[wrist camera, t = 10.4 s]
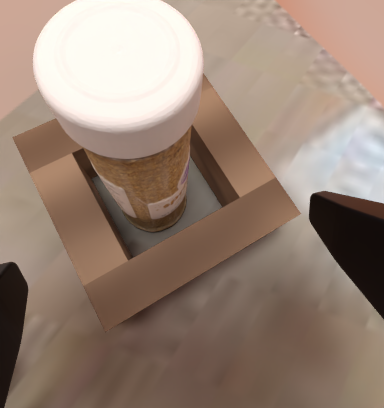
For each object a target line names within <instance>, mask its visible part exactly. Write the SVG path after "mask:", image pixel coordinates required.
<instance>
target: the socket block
mask: <svg viewBox="0 0 384 408" xmlns="http://www.w3.org/2000/svg"><path fill="white" fill-rule="evenodd" d="M13 140H14V142H15V144H16V146H17V148H18V150H19V152H20V154H21V156H22V159H23V161H24V163H25V165H26V167H27V169H28V171H29V173H30V175H31V177H32V179H33V182H34V184H35V186H36V188H37V190H38V192H39V194H40V196H41V198H42V200H43V203H44V205H45V207H46V209H47V211H48V213H49V215H50V217H51V219H52V221H53V224H54V226H55V228H56V230H57V232H58V234H59V236H60V238H61V240H62V242H63V245H64V247H65V249H66V251H67V253H68V255H69V257H70V259H71V261H72V263H73V265H74V268H75V270H76V272H77V274H78V276H79V278H80V280H81V282H82V284H83V286H84V289H85V291H86V293H87V295H88V297H89V299H90V301H91V303H92V305H93V307H94V310H95V312H96V314H97V316H98V318H99V320H100V322H101V324H102V326H103V328H104V331H105V332H106V331H108V330H110V329H111V328H113V327H115V326H116V325H118V324H120V323H121V322H123V321H125V320H126V319H128V318H130V317H131V316H133V315H135V314H136V313H138V312H140V311H141V310H143V309H145V308H146V307H148V306H150V305H151V304H153V303H154V302H156V301H158V300H159V299H161V298H163V297H164V296H166V295H168V294H169V293H171V292H173V291H174V290H176V289H178V288H179V287H181V286H183V285H184V284H186V283H187V282H189V281H191V280H192V279H194V278H196V277H197V276H199V275H201V274H202V273H204V272H206V271H207V270H209V269H211V268H212V267H214V266H216V265H217V264H219V263H221V262H222V261H224V260H225V259H227V258H229V257H230V256H232V255H234V254H235V253H237V252H239V251H240V250H242V249H244V248H245V247H247V246H249V245H250V244H252V243H254V242H255V241H257V240H258V239H260V238H262V237H263V236H265V235H267V234H268V233H270V232H272V231H273V230H275V229H277V228H278V227H280V226H282V225H283V224H285V223H287V222H288V221H290V220H291V219H293V218H295V217H296V216H298V215H300V214H301V213H300V212H299V210H298V209H297V207H296V206H295V204H294V203H293V201H292V200H291V199H290V197H289V196H288V194H287V193H286V191H285V190H284V189H283V187H282V186H281V184H280V183H279V181H278V180H277V178H276V177H275V176H274V174H273V173H272V171H271V170H270V168H269V167H268V165H267V164H266V163H265V161H264V160H263V158H262V157H261V155H260V154H259V153H258V151H257V150H256V148H255V147H254V145H253V144H252V142H251V141H250V140H249V138H248V137H247V135H246V134H245V132H244V131H243V130H242V128H241V127H240V125H239V124H238V122H237V121H236V119H235V118H234V117H233V115H232V114H231V112H230V111H229V109H228V108H227V107H226V105H225V104H224V102H223V101H222V99H221V98H220V96H219V95H218V94H217V92H216V91H215V89H214V88H213V86H212V85H211V83H210V82H209V81H208V79H207V78H206V76H205V75H204V73H203V80H202V90H201V97H200V104H199V108H198V112H197V115H196V117H195V119H194V121H193V123H192V125H191V137H190V156H191V157H192V159H193V161H194V162H195V164H196V165H197V167H198V169H199V170H200V172H201V173H202V175H203V176H204V178H205V180H206V181H207V183H208V184H209V186H210V188H211V189H212V191H213V192H214V194H215V195H216V197H217V199H218V200H219V202H220V203H221V205H222V208H221V209H219V210H217V211H215V212H214V213H212V214H210V215H208V216H206V217H205V218H203V219H201V220H199V221H198V222H196V223H194V224H192V225H191V226H189V227H187V228H185V229H183V230H182V231H180V232H178V233H176V234H175V235H173V236H171V237H169V238H167V239H166V240H164V241H162V242H160V243H159V244H157V245H155V246H153V247H152V248H150V249H148V250H146V251H144V252H143V253H141V254H139V255H137V256H136V257H134V258H133V257H132V256H131V254H130V252H129V250H128V248H127V246H126V244H125V242H124V240H123V239H122V237H121V235H120V233H119V231H118V229H117V227H116V225H115V223H114V221H113V220H112V218H111V216H110V214H109V212H108V210H107V208H106V206H105V204H104V203H103V201H102V199H101V197H100V195H99V193H98V191H97V189H96V187H95V186H94V184H93V182H92V180H91V178H93V177H95V176H97V175H98V174H97V172H96V171H95V169H94V168H93V166H92V164H91V161H90V159H89V158H88V156H87V154H86V152H85V150H84V149H83V148H82V147H81V146H80V145H79V144H78V143H77V142H75V141H74V140H73V139H71V137H70V136H69V135H68V134H67V133H66V132H65V131H64V129H63V128H62V126H61V125H60V123H59V122H58V120H57V119H53V120H51V121H49V122H47V123H44V124H42V125H40V126H38V127H35V128H33V129H31V130H28V131H26V132H24V133H22V134H19V135H17V136H15V137H13Z"/></svg>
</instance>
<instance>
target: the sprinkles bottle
mask: <svg viewBox="0 0 384 408" xmlns="http://www.w3.org/2000/svg"><path fill="white" fill-rule="evenodd" d="M203 68H204V62H203V52H202V47H201V44H200V41H199V39H198V36H197V34H196V32H195V31H194V29H193V28H192V26H191V25H190V23H189V22H188V21H187V20H186V19H185V17H184V16H183V15H182V14H181V13H180V12H178V11H177V10H176V9H174V8H173V7H171V6H170V5H168V4H166V3H165V2H163V1H161V0H76V1H74V2H73V3H71V4H69V5H67V6H66V7H64V8H62V9H61V10H60V11H59V12H58V13H57V14H55V15H54V16H53V17H52V18H51V20H50V21H49V22H48V23H47V24H46V25H45V27H44V28H43V30H42V31H41V34H40V35H39V37H38V39H37V42H36V45H35V49H34V54H33V71H34V77H35V80H36V83H37V86H38V88H39V91H40V93H41V94H42V96H43V98H44V100H45V101H46V103H47V105H48V106H49V108H50V110H51V111H52V113H53V114H54V116H55V117H56V119H57V120H58V122H59V123H60V125H61V126H62V128H63V129H64V131H65V132H66V133H67V134H68V135H69V136H70V137H71V139H73V140H74V141H75V142H77V143H78V144H79V145H80V146H81V147H82V148H83V149H84V150H85V152H86V154H87V156H88V158H89V159H90V161H91V164H92V166H93V168H94V169H95V171H96V172H97V174H98V175H99V177H100V179H101V180H102V182H103V183H104V185H105V186H106V188H107V190H108V191H109V192H110V194H111V195H112V197H113V198H114V200H115V201H116V203H117V204H118V205H119V207H120V208H121V209H122V212H123V214H124V216H125V217H126V219H127V220H128V221H129V222H130V223H131V224H133V225H134V226H136V227H137V228H139V229H142V230H145V231H149V232H155V231H161V230H164V229H166V228H168V227H170V226H172V225H173V224H175V223H176V222H177V221H178V220H179V218H180V217H181V215H182V213H183V212H184V210H185V207H186V189H187V179H188V169H189V158H190V137H191V125H192V123H193V121H194V119H195V117H196V115H197V112H198V108H199V104H200V97H201V90H202V80H203Z"/></svg>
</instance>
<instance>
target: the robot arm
mask: <svg viewBox="0 0 384 408" xmlns="http://www.w3.org/2000/svg"><path fill="white" fill-rule="evenodd" d="M309 220H310V222H311V224H312V226H313V227H314V229H315V230H316V232H317V233H318V235H319V237H320V238H321V240H322V241H323V243H324V244H325V246H326V247H327V249H328V250H329V252H330V253H331V255H332V256H333V258H334V259H335V260H336V262H337V263H338V264H339V266H340V267H341V268H342V269H343V270H344V272H345V273H346V274H347V275H348V276H349V278H350V279H351V280H352V281H353V283H354V284H355V285H356V286H357V287H358V289H359V290H360V291H361V292H362V294H363V295H364V296H365V297H366V298H367V300H368V301H369V302H370V303H371V304H372V306H373V307H374V308H375V309H376V311H377V312H378V313H379V314H380V315H381V317H382V318H383V319H384V203H379V202H374V201H370V200H365V199H360V198H356V197H351V196H346V195H342V194H337V193H332V192H328V191H321V192H317V193H313V194H312V195H311V197H310V208H309ZM27 296H28V285H27V282H26V280H25V279H24V277H23V275H22V273H21V271H20V269H19V268H18V266H17V264H16V263H14V262H8V263H3V264H0V408H4V407H5V403H6V399H7V395H8V391H9V387H10V383H11V379H12V376H13V372H14V368H15V364H16V360H17V356H18V352H19V348H20V344H21V339H22V333H23V326H24V318H25V311H26V303H27Z"/></svg>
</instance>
